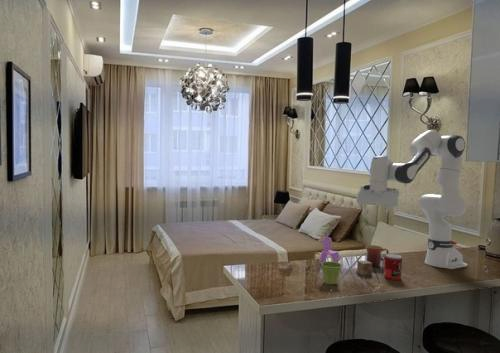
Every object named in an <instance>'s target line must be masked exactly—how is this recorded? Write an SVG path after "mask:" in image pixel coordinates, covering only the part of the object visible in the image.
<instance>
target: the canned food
mask: <svg viewBox="0 0 500 353" xmlns="http://www.w3.org/2000/svg"><path fill="white" fill-rule="evenodd" d="M384 257H385V260H384V277H385V278H386V279H387V280H390V281H399V280H401V278H402V268H403V267H402V265H403V256H402V255H400V254H397V253H389V254H387V253H386V254H385V256H384Z"/></svg>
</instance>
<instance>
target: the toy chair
mask: <svg viewBox="0 0 500 353" xmlns="http://www.w3.org/2000/svg"><path fill="white" fill-rule="evenodd" d="M321 244H322V246H323V250H322V251H321V253H320V261H319V262H318V265H321V263H322V262H327V259H328V258H327V257H328V255H329V256H330V257H331V259H332V262H337V263H339V258H340V253H339V251H336V250H332V249H330V247H332V245H333V240H332V237H330V236H324V237H323V238H322V241H321Z"/></svg>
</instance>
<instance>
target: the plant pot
mask: <svg viewBox="0 0 500 353" xmlns="http://www.w3.org/2000/svg"><path fill="white" fill-rule="evenodd" d="M320 265H321V268H322V274H323V276H322V277H323V282H324V284H326V285H337V284H339V282H338V281H339V276H340V273H341V269H342V266H343V264H341V263H339V262H338V263H337V262H333V261H326V262H322V263H321V264H320Z"/></svg>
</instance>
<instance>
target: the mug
mask: <svg viewBox="0 0 500 353" xmlns="http://www.w3.org/2000/svg"><path fill="white" fill-rule="evenodd" d="M365 250H366V258H365V259H366V260H365V261H368V262H371V263H372V268H378V267H380V266H381V263H382V261H385V256H384V257H382V252H384V251H386V254H390V253H389V250H388V249H387V248H383V246H380V245H374V244H373V245H371V244H369V245H366V246H365Z"/></svg>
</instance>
